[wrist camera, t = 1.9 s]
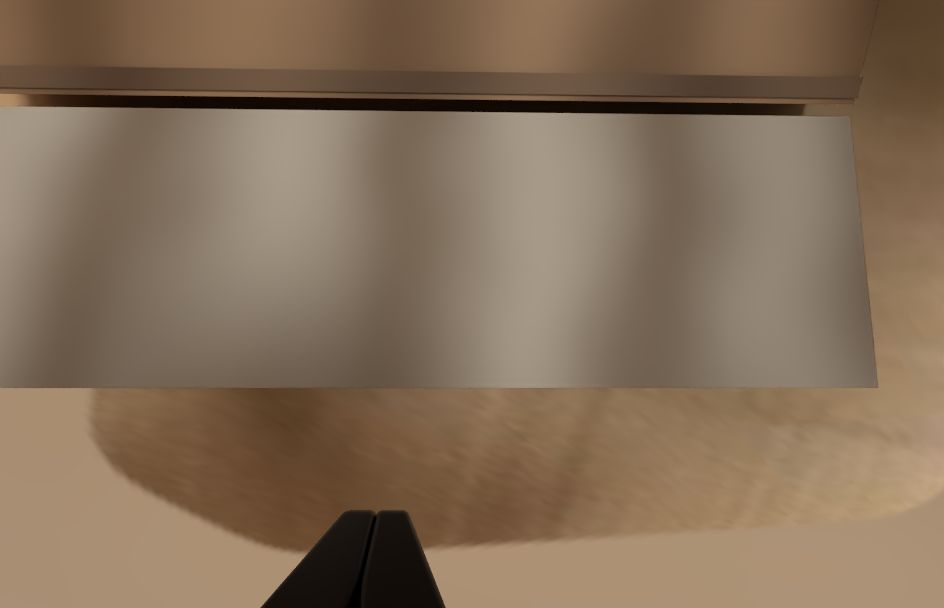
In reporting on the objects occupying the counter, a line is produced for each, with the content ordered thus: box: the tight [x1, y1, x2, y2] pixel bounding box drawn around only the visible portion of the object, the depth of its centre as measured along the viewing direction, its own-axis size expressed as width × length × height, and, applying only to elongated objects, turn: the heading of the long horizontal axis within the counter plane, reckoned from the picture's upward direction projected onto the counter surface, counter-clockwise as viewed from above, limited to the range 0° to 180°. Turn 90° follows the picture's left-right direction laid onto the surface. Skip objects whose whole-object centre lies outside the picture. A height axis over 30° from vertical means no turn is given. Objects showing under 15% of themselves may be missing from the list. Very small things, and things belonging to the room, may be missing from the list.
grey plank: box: [0, 106, 878, 388], centre depth 15 cm, size 22×7×2 cm, turn 89°
